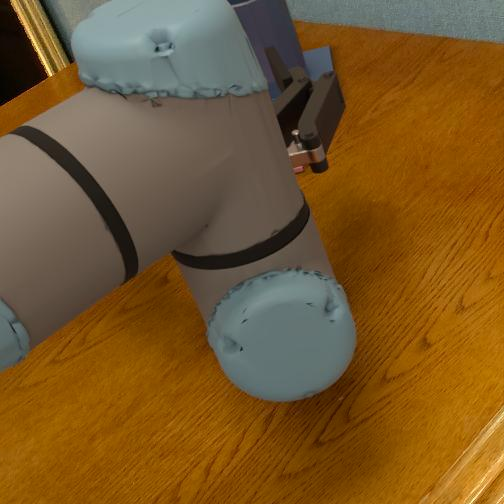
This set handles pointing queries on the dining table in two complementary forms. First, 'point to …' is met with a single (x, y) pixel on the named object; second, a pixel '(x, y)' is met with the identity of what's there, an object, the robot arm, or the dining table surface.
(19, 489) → the dining table surface
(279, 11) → the blue cup
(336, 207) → the dining table surface
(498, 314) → the dining table surface
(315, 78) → the blue mat
